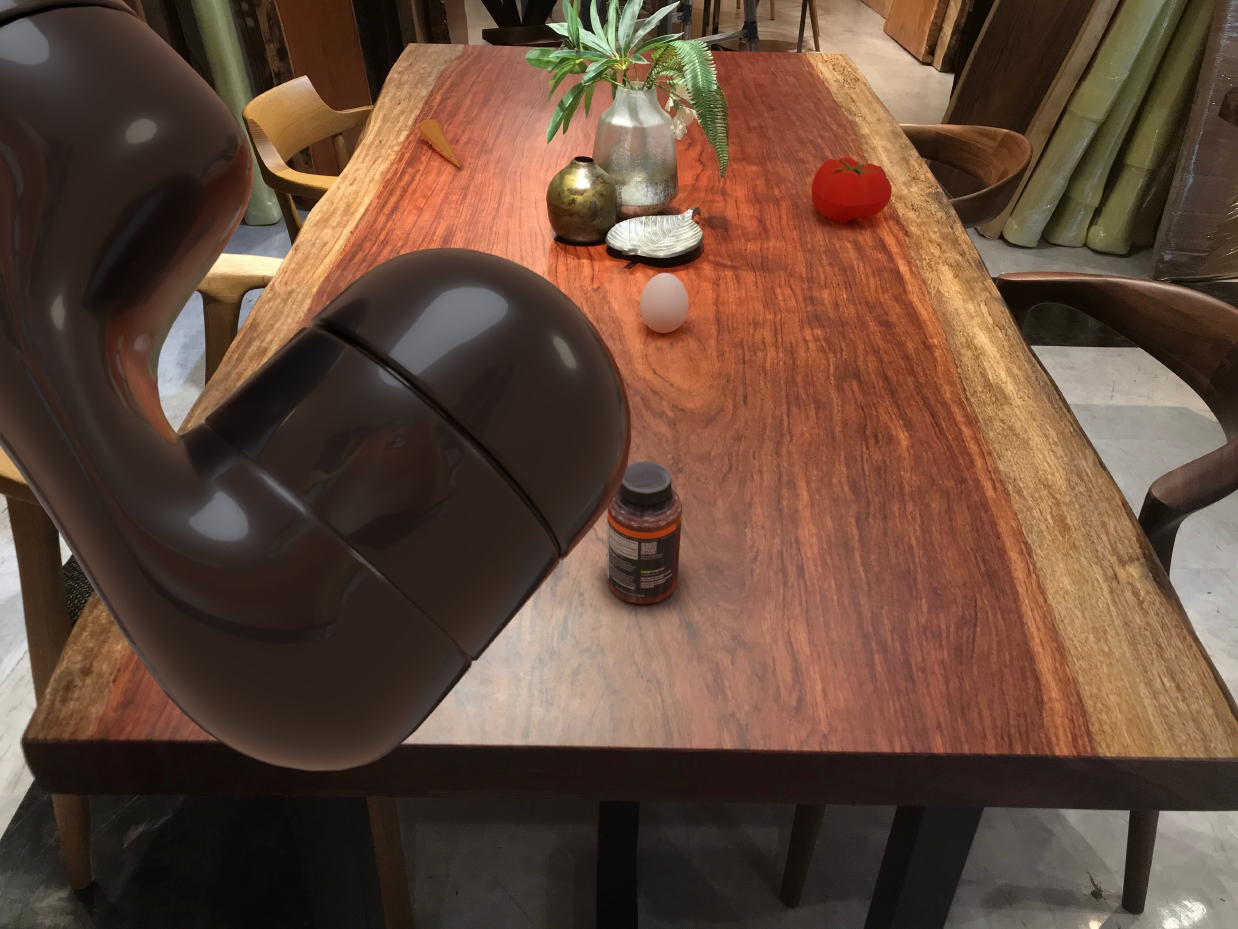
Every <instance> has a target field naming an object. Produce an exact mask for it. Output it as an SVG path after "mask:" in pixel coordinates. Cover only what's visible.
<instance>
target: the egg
mask: <svg viewBox="0 0 1238 929" xmlns="http://www.w3.org/2000/svg"><path fill="white" fill-rule="evenodd" d="M689 307H690V299H689V295H688V291H687V290H686V288H685V285H684V284H683V282H682V280H681V279H680V278H679V277H678V276H676V275H674V274H673V273H669V272H661V273H658V274H656V275H654V276H653V277H651V278H650V279H649V280H648V282H647V283H646V284H645V286H644V287H643V290H642V291H641V294H640V297H639V313H640V316H641V319H642V321H643V322H644V323H645V325H646V326H647V327H648V328H649V329H651V330H652V331H654V332H656V333H659V334H669V333H672V332H673V331H676V330H677V329H679V328H680V327H681V326H682V324H683V323H684V322H685V320H686V319H687V316H688V314H689V309H690V308H689Z"/></svg>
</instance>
